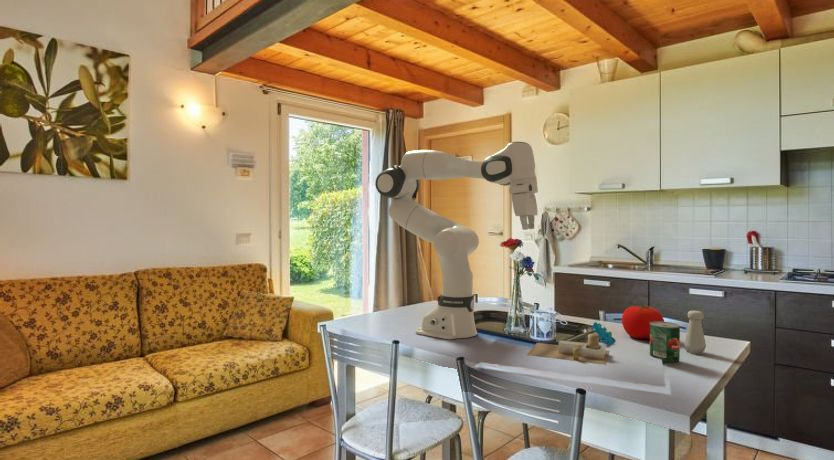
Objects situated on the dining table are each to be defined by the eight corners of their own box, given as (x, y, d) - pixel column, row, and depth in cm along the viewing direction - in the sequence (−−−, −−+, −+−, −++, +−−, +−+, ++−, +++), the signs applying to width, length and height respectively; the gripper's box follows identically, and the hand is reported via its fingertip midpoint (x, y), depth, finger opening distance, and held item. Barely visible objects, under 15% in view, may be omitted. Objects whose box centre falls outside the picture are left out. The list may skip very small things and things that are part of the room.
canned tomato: (648, 356, 144) (648, 320, 144) (677, 358, 141) (678, 322, 141) (650, 363, 137) (650, 325, 136) (681, 366, 134) (681, 328, 133)
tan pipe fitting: (557, 353, 141) (557, 344, 141) (560, 348, 147) (561, 339, 147) (604, 359, 136) (604, 349, 136) (605, 353, 141) (605, 343, 141)
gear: (611, 347, 148) (590, 321, 153) (597, 358, 151) (577, 332, 156) (624, 345, 156) (603, 320, 161) (610, 355, 159) (591, 330, 164)
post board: (526, 359, 141) (526, 334, 140) (536, 347, 154) (536, 324, 154) (605, 369, 131) (605, 343, 131) (609, 355, 144) (609, 331, 144)
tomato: (640, 331, 174) (640, 300, 174) (672, 340, 162) (672, 306, 161) (613, 335, 170) (613, 302, 169) (644, 344, 157) (644, 309, 157)
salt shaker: (704, 356, 143) (705, 313, 143) (683, 353, 147) (683, 311, 147) (706, 351, 148) (707, 310, 148) (686, 348, 152) (686, 308, 151)
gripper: (522, 191, 171) (526, 229, 170) (507, 188, 152) (512, 231, 152) (539, 189, 168) (543, 227, 168) (526, 185, 150) (531, 229, 149)
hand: (528, 229), depth 160 cm, fingers open, 8 cm apart
